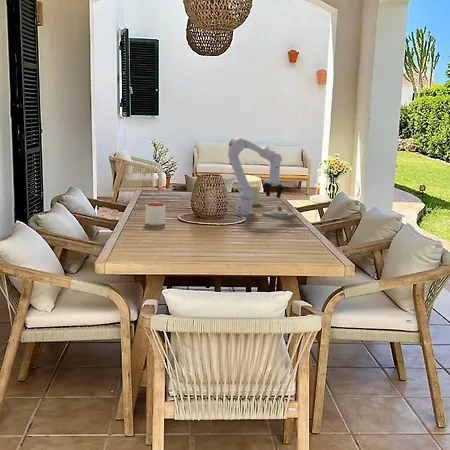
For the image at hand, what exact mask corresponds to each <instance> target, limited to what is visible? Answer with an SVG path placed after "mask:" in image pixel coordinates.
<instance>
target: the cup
mask: <svg viewBox="0 0 450 450" xmlns="http://www.w3.org/2000/svg"><path fill="white" fill-rule="evenodd" d="M145 224H146V225H149V226H163V225H164V224H166V204H164V203H153V202H152V203H146V204H145Z"/></svg>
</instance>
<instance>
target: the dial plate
mask: <svg viewBox="0 0 450 450" xmlns="http://www.w3.org/2000/svg"><path fill="white" fill-rule="evenodd" d="M261 214H262V216H264V217H269V218H272V219H273V218H274V219H279V220H284V219H285V220H286V219H290V218H296V217H297V213H294V212H293V213H292V212H288V211H287V214H285V215H278V214H272V210H271V211H267V212H266V211H264V212H262V213H261Z"/></svg>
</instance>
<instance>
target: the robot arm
mask: <svg viewBox="0 0 450 450" xmlns="http://www.w3.org/2000/svg"><path fill="white" fill-rule="evenodd" d="M244 149H248V150H251V151H253V152H256V153H258V154H259V157H261V158H262V159H265V160H266V161H269V162H270V163H269V178H268V180H267V179H264V180H262V182H263V183H262V184H263V188H264V190H265V194H266V197H270V195H271V188H272V185H273V186H275V188H276V198H277V199H280V198H281V195H282V192H283V191H284V189H285V187H286V182H282V181H280V170H281V169H280V168H281V167H280V166H281V163H282V161H283V157H282V156H281V154H279V153H277V152H276V151H274V150H271V149H269V147H267V146H266V147H265V146H263V147H260V146H258V145H256V144H254V143H253V142H251V141H249V140H246V139H243V138H240V137H239V138H238V137H232V138H231V139H230V141H229V142H228V150H227V151H228V153H227V157H228V160H229V162H230V165H231V167H232V170H233V172H234V175H235V178H236V181H237V183H238V186H237V187H238V194H239V198H238V199H237V200H236V202H235V211H234V214H236V215H237V214H238V215H242V216H247V215H253V214H255V213H256V212H253V205H252V197H253V196H254V190H253V189H252V188H251V186H250V185H251V184H250V183H249V182H248V179H247V176H246V174H245V171H244V168H243V166H242V163H241V160H240V158H239V155H240V153H241V152H242V151H243V150H244Z"/></svg>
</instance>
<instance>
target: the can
mask: <svg viewBox="0 0 450 450" xmlns="http://www.w3.org/2000/svg"><path fill="white" fill-rule="evenodd" d="M250 186H251V188H252V189H253V190H254V196H253V197H252V206H255V205H259V204H260V185H255V184H250Z"/></svg>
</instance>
